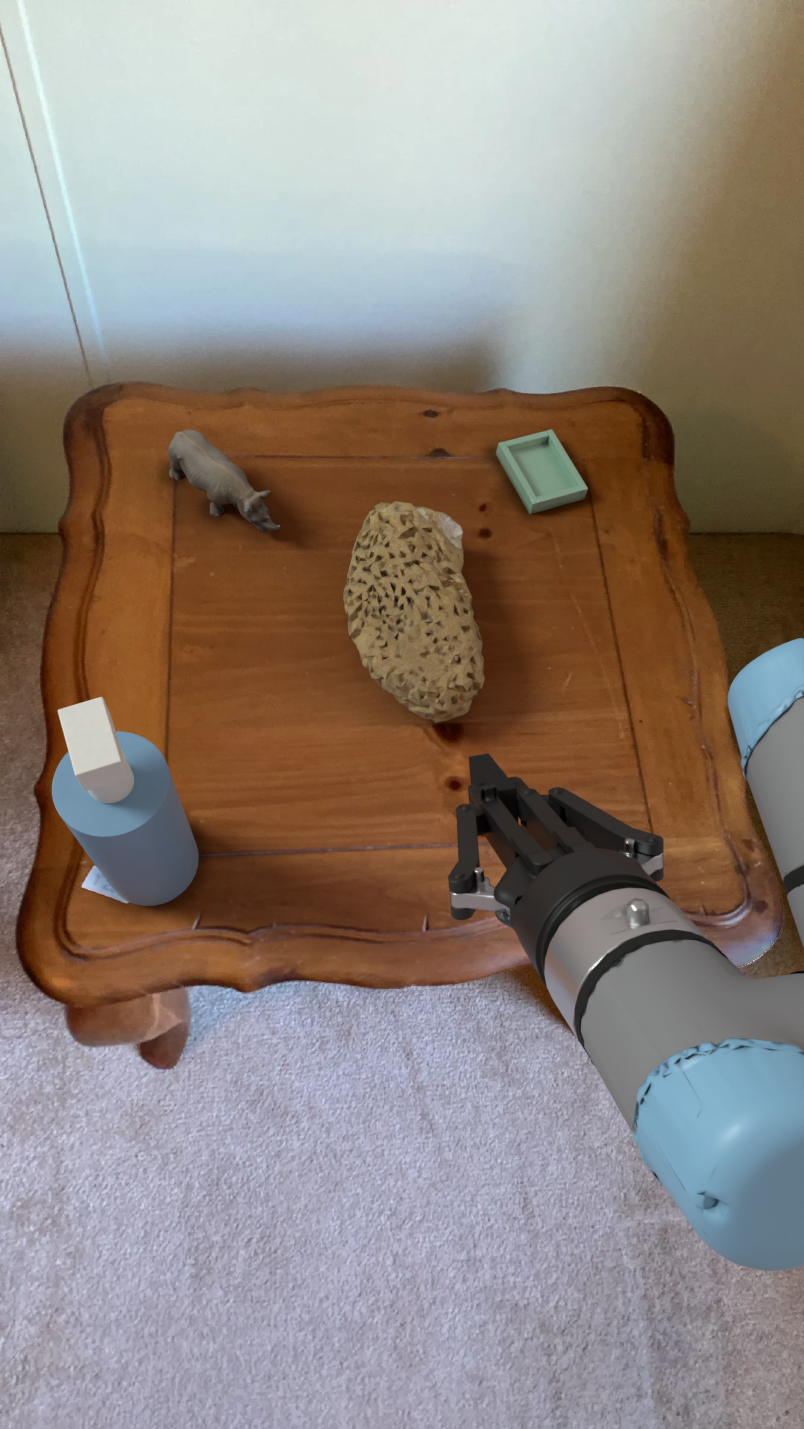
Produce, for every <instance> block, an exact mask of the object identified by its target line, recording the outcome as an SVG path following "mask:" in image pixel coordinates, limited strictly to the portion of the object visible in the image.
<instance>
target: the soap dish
mask: <svg viewBox="0 0 804 1429" xmlns="http://www.w3.org/2000/svg"><path fill="white" fill-rule="evenodd" d="M495 455H496V457H497V459H498V461H499V463H500V465H501V466H502V468H503V470H504V471H505V473H506V475H507V477H508V479H509V481H510V482H511V484H512V485H513V488H514V489H515V491H516V493H517V494H518V496H519V498H520V500H521V501H522V503H523V505H524V507H525V509H526V511H527V512H528V514H529V515H533V514H536V513H540V512H543V511H547V510H551V509H555V508H557V507H561V506H564V505H568V504H572V503H576V502H579V501H582V500H585V498H586V495H587V493H588V490H589V487H588V486H587V485H586V483H585V481H584V480H583V478H582V476H581V474H580V473H579V471H578V469H577V468H576V466H575V465H574V462H573V461H572V459H571V458H570V457H569V455H568V453H567V451H566V450H565V448H564V446H563V445H562V443H561V441H560V439H559V438H558V437H557V435H556V433H555V431H554V430H553V429H552V428H551V429H547V430H544V431H540V432H536V433H532V434H528V435H523V436H519V437H516V438H512V439H508V440H505V441H500V442H498V443H497V447H496V451H495Z"/></svg>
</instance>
